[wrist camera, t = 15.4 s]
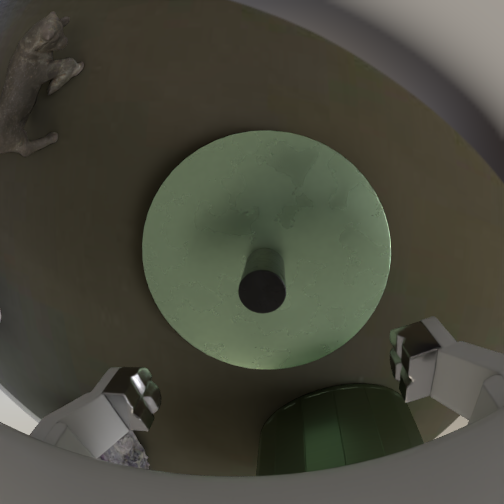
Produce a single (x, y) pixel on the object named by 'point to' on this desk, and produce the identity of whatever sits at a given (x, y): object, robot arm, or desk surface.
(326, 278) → the tin lid
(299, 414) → the waste tin
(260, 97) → the desk surface
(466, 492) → the robot arm
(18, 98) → the dog figurine
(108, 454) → the mineral rock
